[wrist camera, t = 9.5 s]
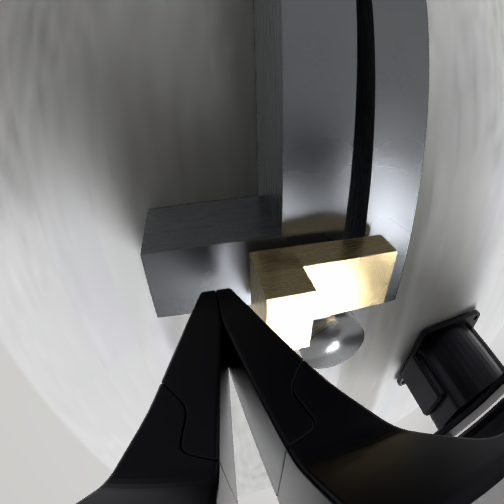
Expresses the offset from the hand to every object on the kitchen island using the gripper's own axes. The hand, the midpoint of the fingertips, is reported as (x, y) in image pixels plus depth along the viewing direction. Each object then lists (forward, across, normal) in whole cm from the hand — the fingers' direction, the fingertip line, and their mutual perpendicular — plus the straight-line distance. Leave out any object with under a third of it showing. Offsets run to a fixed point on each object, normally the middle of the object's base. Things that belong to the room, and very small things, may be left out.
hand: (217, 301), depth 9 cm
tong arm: (+4, -5, -5) cm, 8 cm away
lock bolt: (+1, -3, 0) cm, 3 cm away
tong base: (+4, -1, -7) cm, 8 cm away
